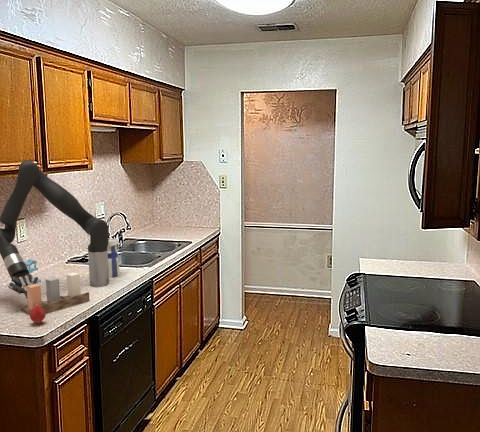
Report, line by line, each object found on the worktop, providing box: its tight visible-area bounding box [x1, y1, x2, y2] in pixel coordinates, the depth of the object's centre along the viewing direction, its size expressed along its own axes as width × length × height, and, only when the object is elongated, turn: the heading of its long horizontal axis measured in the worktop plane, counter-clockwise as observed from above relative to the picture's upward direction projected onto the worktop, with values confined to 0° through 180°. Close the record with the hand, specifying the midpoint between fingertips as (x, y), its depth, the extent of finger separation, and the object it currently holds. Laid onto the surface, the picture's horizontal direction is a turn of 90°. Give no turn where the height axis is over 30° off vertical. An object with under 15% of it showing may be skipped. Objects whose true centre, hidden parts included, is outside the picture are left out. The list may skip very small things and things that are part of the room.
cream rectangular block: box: [66, 272, 81, 297], centre depth 223 cm, size 4×4×10 cm
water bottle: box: [107, 238, 121, 279], centre depth 259 cm, size 8×9×25 cm
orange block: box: [26, 283, 43, 310], centre depth 206 cm, size 4×4×10 cm
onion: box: [29, 304, 46, 325], centre depth 195 cm, size 6×6×8 cm
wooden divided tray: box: [20, 291, 91, 316], centre depth 215 cm, size 26×11×4 cm, turn 139°
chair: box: [24, 259, 42, 285], centre depth 249 cm, size 8×8×12 cm
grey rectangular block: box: [45, 276, 61, 303], centre depth 216 cm, size 4×4×10 cm
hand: (31, 299), depth 208 cm, fingers closed
